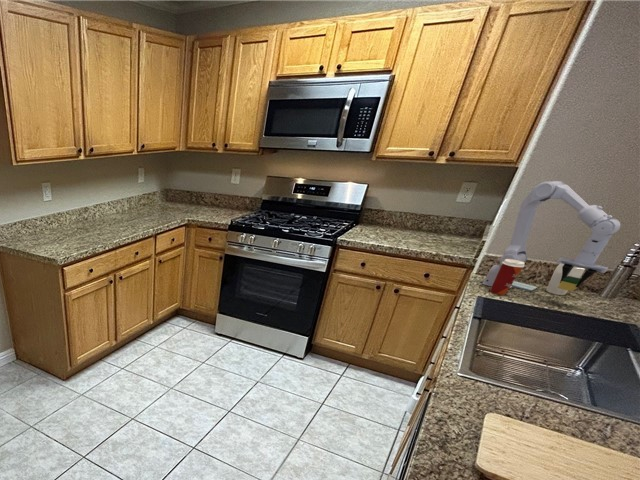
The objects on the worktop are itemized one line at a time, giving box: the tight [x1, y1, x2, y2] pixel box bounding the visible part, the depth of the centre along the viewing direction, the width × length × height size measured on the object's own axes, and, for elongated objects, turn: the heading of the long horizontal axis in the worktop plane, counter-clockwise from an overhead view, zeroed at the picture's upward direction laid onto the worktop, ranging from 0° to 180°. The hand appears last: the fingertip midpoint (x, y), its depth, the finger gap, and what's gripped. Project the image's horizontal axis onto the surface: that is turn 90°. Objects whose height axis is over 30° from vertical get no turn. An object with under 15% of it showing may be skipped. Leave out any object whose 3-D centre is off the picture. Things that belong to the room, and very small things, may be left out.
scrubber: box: [558, 276, 581, 292], centre depth 169 cm, size 7×4×4 cm, turn 124°
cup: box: [546, 263, 586, 296], centre depth 183 cm, size 9×9×12 cm
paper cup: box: [489, 259, 526, 296], centre depth 180 cm, size 8×8×14 cm
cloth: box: [511, 280, 538, 292], centre depth 192 cm, size 11×8×1 cm
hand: (568, 284), depth 170 cm, fingers closed on scrubber, 4 cm apart
